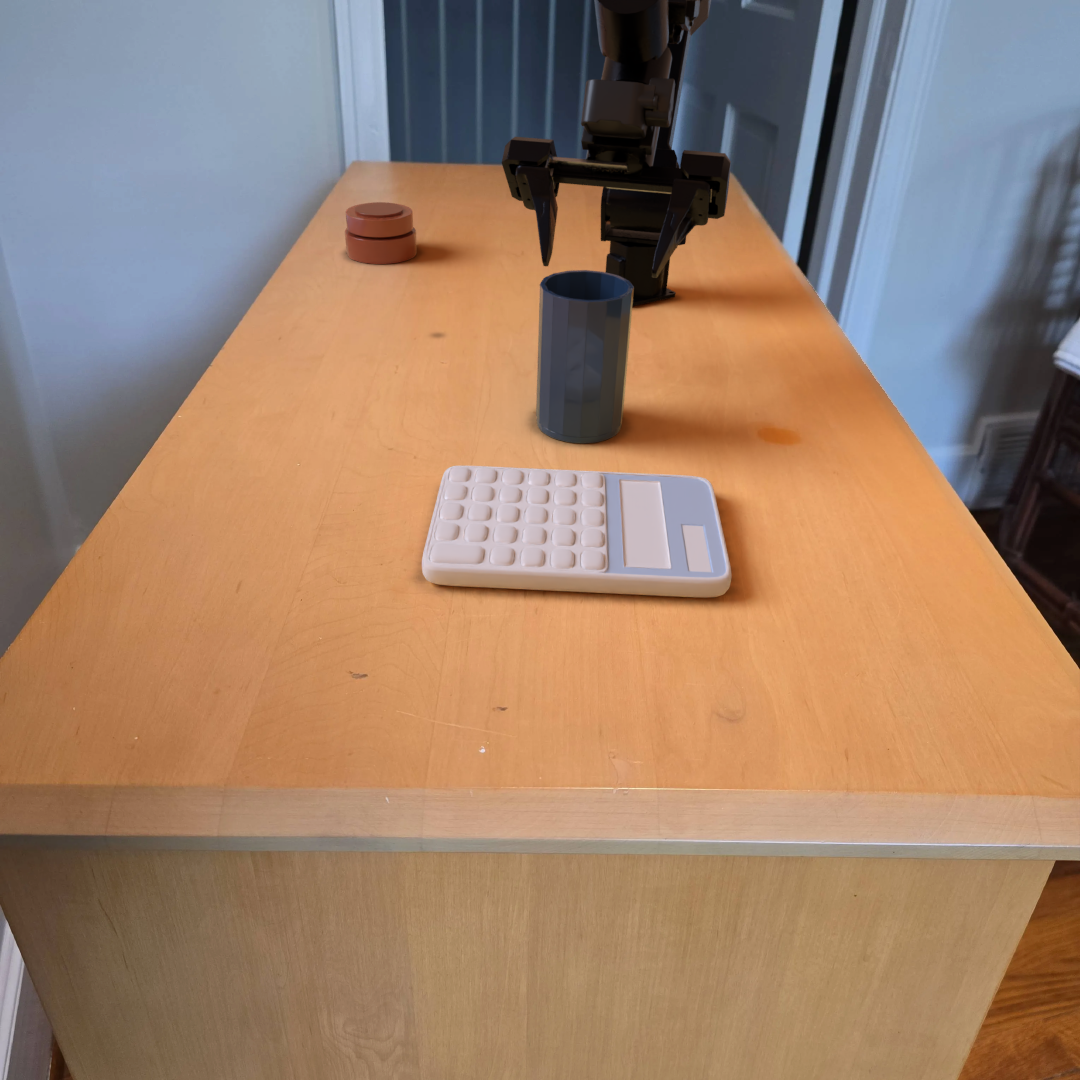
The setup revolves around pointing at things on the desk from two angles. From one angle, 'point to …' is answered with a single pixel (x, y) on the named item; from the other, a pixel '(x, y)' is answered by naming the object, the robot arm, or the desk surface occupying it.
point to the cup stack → (380, 233)
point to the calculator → (577, 532)
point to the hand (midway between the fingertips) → (599, 269)
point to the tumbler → (582, 354)
